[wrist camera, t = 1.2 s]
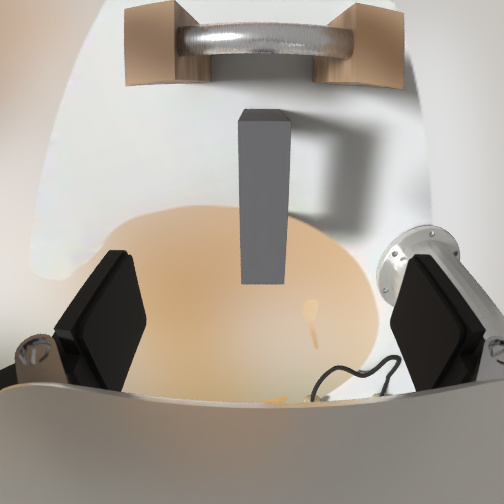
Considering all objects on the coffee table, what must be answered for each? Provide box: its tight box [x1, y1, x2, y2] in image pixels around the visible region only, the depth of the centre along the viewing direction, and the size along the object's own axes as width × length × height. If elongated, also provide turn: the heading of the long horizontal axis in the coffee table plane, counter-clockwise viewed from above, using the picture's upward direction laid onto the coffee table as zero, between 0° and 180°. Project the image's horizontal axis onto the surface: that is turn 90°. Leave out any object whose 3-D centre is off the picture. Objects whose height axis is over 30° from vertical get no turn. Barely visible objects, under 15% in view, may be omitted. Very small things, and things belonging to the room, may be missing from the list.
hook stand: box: [124, 0, 404, 89], centre depth 20 cm, size 5×16×14 cm, turn 90°
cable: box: [303, 355, 401, 402], centre depth 50 cm, size 16×16×4 cm
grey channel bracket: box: [238, 109, 291, 284], centre depth 28 cm, size 13×4×11 cm, turn 0°
